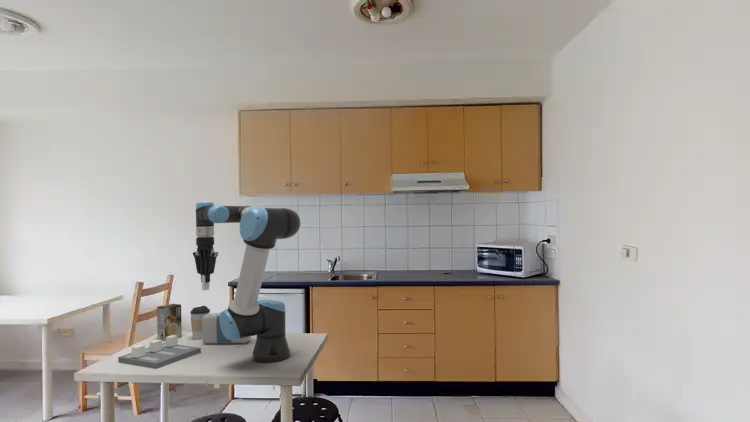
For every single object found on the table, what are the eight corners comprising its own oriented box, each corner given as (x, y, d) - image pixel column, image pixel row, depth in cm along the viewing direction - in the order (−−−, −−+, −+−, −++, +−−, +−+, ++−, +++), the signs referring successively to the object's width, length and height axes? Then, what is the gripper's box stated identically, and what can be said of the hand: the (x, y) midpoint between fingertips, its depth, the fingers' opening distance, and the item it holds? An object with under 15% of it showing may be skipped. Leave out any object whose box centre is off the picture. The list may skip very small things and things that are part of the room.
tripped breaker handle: (161, 349, 182) (161, 340, 182) (154, 352, 179) (154, 342, 179) (156, 349, 184) (156, 339, 184) (149, 351, 180) (149, 341, 180)
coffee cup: (203, 340, 204) (203, 309, 205) (186, 340, 206) (186, 308, 207) (214, 335, 213) (213, 305, 214) (197, 335, 215) (197, 305, 215)
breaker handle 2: (177, 344, 190) (177, 335, 190) (170, 346, 186) (170, 337, 186) (172, 344, 191) (172, 335, 191) (165, 346, 188) (165, 337, 188)
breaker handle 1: (145, 355, 175) (145, 345, 175) (137, 357, 172) (136, 347, 172) (140, 354, 176) (140, 344, 176) (131, 357, 173) (131, 347, 173)
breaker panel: (200, 352, 186) (200, 347, 186) (156, 368, 165) (156, 363, 166) (164, 347, 195) (164, 342, 195) (118, 362, 174) (118, 356, 174)
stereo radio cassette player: (201, 345, 197) (201, 301, 198) (209, 340, 205) (208, 298, 206) (246, 344, 196) (246, 301, 197) (252, 340, 204) (251, 297, 205)
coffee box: (174, 335, 216) (174, 303, 216) (182, 336, 212) (181, 304, 213) (156, 339, 208) (156, 306, 208) (164, 341, 204) (164, 307, 205)
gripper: (187, 237, 190) (188, 290, 190) (209, 236, 185) (210, 291, 184) (200, 236, 197) (201, 287, 196) (222, 236, 192) (223, 289, 191)
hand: (205, 289), depth 190 cm, fingers closed
